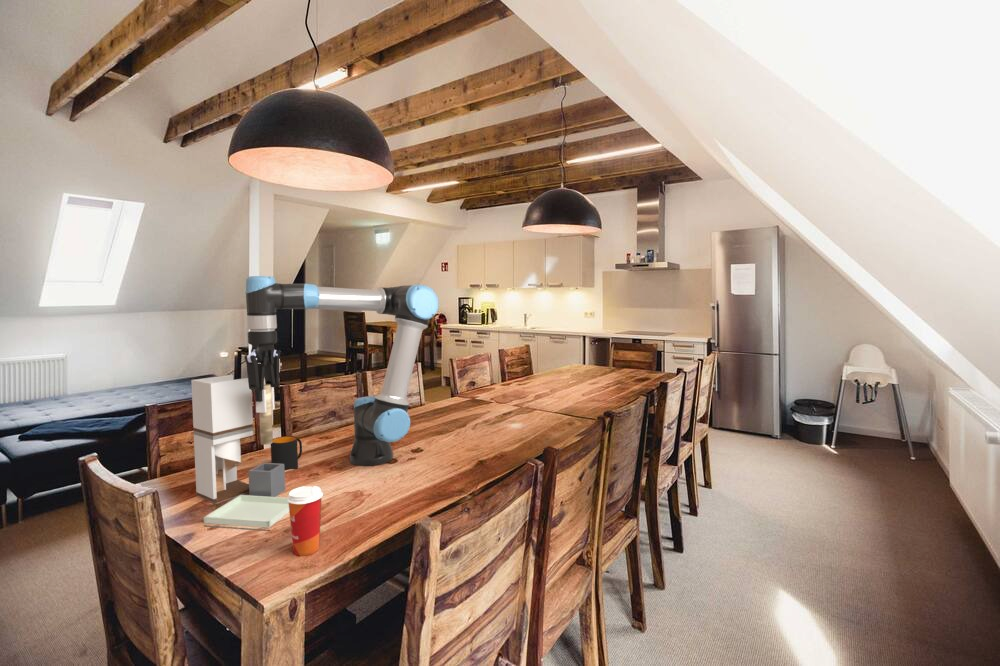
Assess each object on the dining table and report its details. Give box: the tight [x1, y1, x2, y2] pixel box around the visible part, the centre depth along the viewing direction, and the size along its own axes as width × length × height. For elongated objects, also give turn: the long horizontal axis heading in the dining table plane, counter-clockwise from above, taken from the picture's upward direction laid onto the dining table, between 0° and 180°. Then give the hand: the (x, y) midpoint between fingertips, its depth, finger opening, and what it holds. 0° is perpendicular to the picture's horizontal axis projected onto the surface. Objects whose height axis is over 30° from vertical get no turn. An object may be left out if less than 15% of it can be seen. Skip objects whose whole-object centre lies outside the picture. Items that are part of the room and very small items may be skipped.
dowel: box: [259, 383, 274, 446], centre depth 138 cm, size 3×3×17 cm
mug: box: [270, 435, 303, 471], centre depth 164 cm, size 8×12×10 cm
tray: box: [203, 494, 290, 532], centre depth 127 cm, size 18×14×2 cm
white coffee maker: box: [190, 374, 254, 505], centre depth 139 cm, size 11×11×35 cm
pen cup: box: [248, 462, 286, 497], centre depth 139 cm, size 7×7×9 cm
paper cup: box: [286, 485, 324, 557], centre depth 110 cm, size 8×8×14 cm
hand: (265, 410), depth 138 cm, fingers closed on dowel, 3 cm apart
